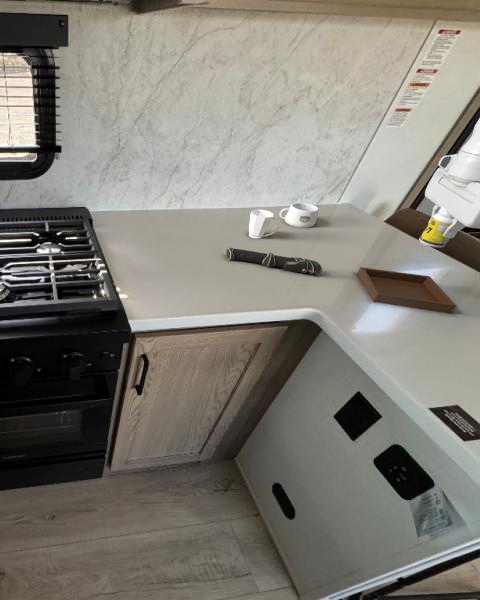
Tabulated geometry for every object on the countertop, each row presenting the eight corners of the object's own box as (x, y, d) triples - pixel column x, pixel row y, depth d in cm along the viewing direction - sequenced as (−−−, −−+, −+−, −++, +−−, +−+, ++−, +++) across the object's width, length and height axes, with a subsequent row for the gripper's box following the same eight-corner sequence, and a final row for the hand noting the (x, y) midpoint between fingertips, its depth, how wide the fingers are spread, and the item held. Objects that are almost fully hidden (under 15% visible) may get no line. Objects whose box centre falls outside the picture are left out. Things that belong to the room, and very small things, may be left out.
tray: (424, 284, 91) (429, 276, 90) (450, 314, 81) (456, 305, 80) (356, 274, 96) (360, 267, 94) (372, 302, 85) (377, 294, 84)
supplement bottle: (417, 236, 83) (438, 202, 78) (443, 241, 81) (466, 207, 76) (418, 244, 80) (440, 209, 75) (445, 249, 77) (470, 214, 72)
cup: (242, 231, 119) (248, 208, 114) (272, 233, 118) (280, 210, 113) (246, 240, 113) (253, 216, 109) (278, 242, 112) (287, 218, 107)
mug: (310, 219, 127) (316, 203, 123) (317, 229, 119) (324, 213, 116) (274, 215, 129) (280, 200, 126) (279, 226, 122) (285, 209, 118)
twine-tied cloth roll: (225, 251, 100) (324, 269, 91) (228, 240, 103) (325, 257, 94) (222, 262, 103) (318, 281, 94) (226, 251, 106) (319, 268, 97)
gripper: (536, 184, 61) (483, 253, 70) (472, 157, 77) (435, 215, 85) (491, 181, 63) (445, 249, 71) (438, 155, 79) (405, 213, 87)
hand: (439, 230), depth 78 cm, fingers closed on supplement bottle, 5 cm apart
